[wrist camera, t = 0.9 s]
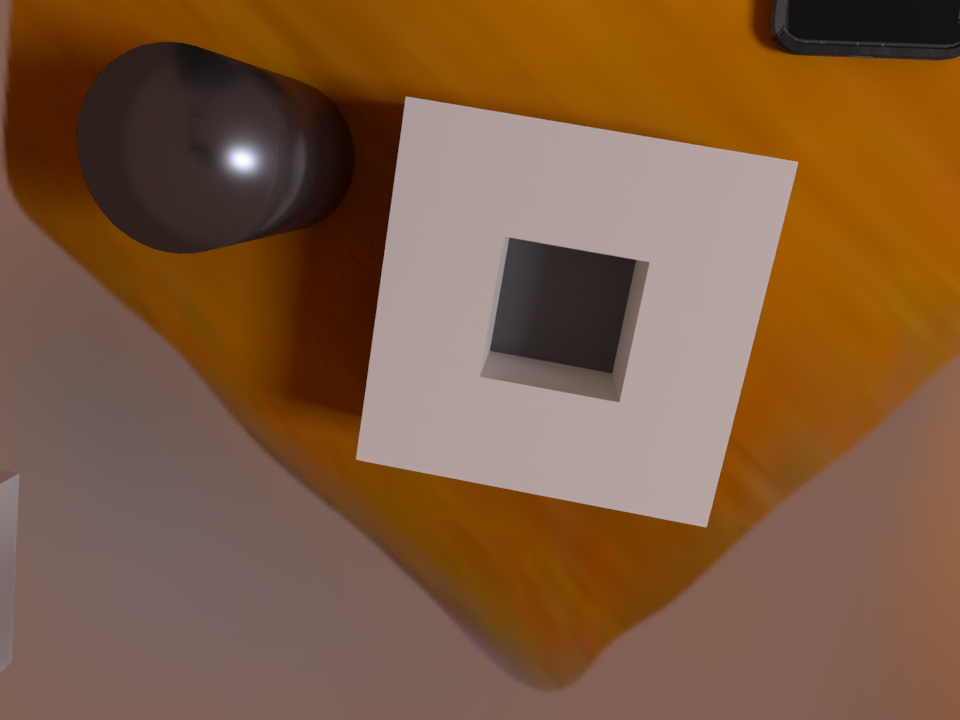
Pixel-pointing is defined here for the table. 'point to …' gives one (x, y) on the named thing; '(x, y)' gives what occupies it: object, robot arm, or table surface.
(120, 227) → the cylinder
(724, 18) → the table surface
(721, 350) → the socket block
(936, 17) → the phone
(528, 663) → the table surface
